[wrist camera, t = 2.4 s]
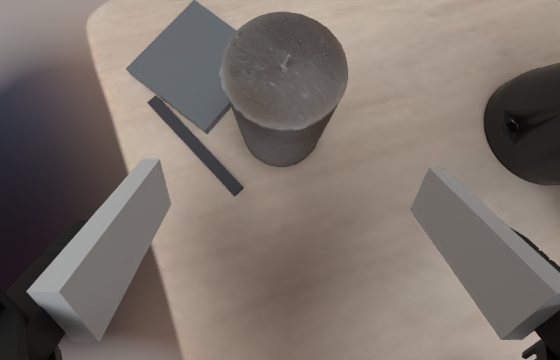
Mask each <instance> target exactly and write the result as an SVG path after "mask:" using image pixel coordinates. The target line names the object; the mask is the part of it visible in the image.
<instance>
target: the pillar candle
mask: <svg viewBox="0 0 560 360" xmlns="http://www.w3.org/2000/svg"><path fill="white" fill-rule="evenodd" d="M219 76H220V78H221V86H222V89H223V91H225V92H226V96H227V97H228V100H229V102H230V104H231V107H232V110H233V112H234V115H235V118H236V120H237V123H238V126H239V128H240V131H241V133H242V136H243V138H244V141H245V143H246V145H247V147H248V149H249V150H250V152H251V153H252V154H253V155H254V156H255V157H256V158H257V159H259V160H261V161H262V162H264V163H266V164H269V165H272V166H277V167H285V166H290V165H294V164H297V163H299V162H300V161H302V160H303V159H305V158H306V157H307V156H308V155H309V154H310V153H311V152H312V151H313V150H314V148H315V147H316V144H317V142H318V140H319V138H320V136H321V135H322V133H323V131H324V129H325V127H326V125H327V123H328V122H329V120H330V118H331V116H332V114H333V112H334V111H335V109H336V107H337V105H338V103H339V101H340V100H341V98H342V96H343V94H344V92H345V89H346V85H347V80H348V67H347V61H346V57H345V53H344V51H343V48H342V45H341V44H340V43H339V41H338V40H337V38H336V37H335V36H334V35H333V34H332V33H331V31H330V30H329V29H327V27H325V26H323V25H322V24H321V23H319V22H318V21H315V20H314V19H311V18H309V17H307V16H304V15H302V14H296V13H290V12H275V13H268V14H265V15H261V16H259V17H256V18H254V19H253V20H251V21H249V22H247V23H246V24H245V25H243V26H242V27H241V28H239V29H238V31H237V32H236V33H235V34H234V35H233V37H232V38H231V39H230V41H229V43H228V45H227V47H226V48H225V51H224V53H223V58H222V64H221V68H220V71H219Z"/></svg>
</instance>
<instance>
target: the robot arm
mask: <svg viewBox="0 0 560 360" xmlns="http://www.w3.org/2000/svg"><path fill="white" fill-rule="evenodd" d="M485 128H486V134H487V137H488V140H489V143H490V145H491V147H492V149H493V151H494V153H495V154H496V156H497V157H498V158H499V160H500V161H501V162H502V163H503V164H504V165H505V166H506V167H507V168H508V169H509V170H510V171H512V172H513V173H515V174H516V175H518V176H519V177H521V178H523V179H525V180H528V181H530V182H533V183H537V184H543V185H558V184H560V63H556V64H553V65H549V66H546V67H542V68H538V69H534V70H530V71H528V72H525V73H523V74H521V75H519V76H517V77H516V78H514V79H512V80H510V81H509V82H507V83H505V84H504V85H502V86H501V87H500V88H499V89H498V90H497V91H496V92H495V93H494V94H493V96H492V97H491V99H490V101H489V103H488V106H487V109H486V114H485ZM170 205H171V202H170V198H169V194H168V190H167V186H166V182H165V178H164V174H163V170H162V166H161V163H160V159H142V160H141V161H140V162H139V164H138V165H137V166H136V167H135V168H134V169H133V170H132V172H131V173H130V174H129V175H128V176H127V177H126V178H125V180H124V181H123V182H122V183H121V184H120V185H119V186H118V188H117V189H116V190H115V191H114V192H113V193H112V194H111V196H110V197H109V198H108V199H107V200H106V201H105V202H104V204H103V205H102V206H101V207H100V208H99V209H98V210H97V211H96V213H95V214H94V215H93V216H92V217H91V218H90V220H89V221H87V220H83V221H82V220H79V221H78V222H76V223H75V224H73V225H72V226H70V227H69V228H67V229H66V230H64V231H63V232H62V234H60V235H59V237H58V238H57V239H56V240H55V241H54V242H53V245H50V246H49V247H48V248H47V249H46V250H45V251H44V253H43V255H40V257H39V258H38V259H37V260H36V261H35V262H34V263H33V264H32V265H31V266H30V267H29V268H28V269H27V270H26V271H25V272H24V273H23V274H22V275H21V277H20V278H19V279H18V280H17V281H16V282H15V283H14V284H13V285H12V286H11V287H10V288H9V289H8V290H7V291H6V293H4V292H3V291H2V290H1V289H0V360H62V354H61V350H60V349H59V347H58V344H59V342H60V340H61V339H62V337H63V336H64V334H66V335H67V336H68V337H69V338H70V339H71V340H72V341H73V342H99V341H100V339H101V338H102V336H103V334H104V332H105V330H106V328H107V326H108V324H109V322H110V320H111V318H112V316H113V314H114V313H115V311H116V308H117V307H118V305H119V303H120V301H121V299H122V297H123V295H124V293H125V291H126V290H127V288H128V286H129V284H130V282H131V280H132V278H133V276H134V274H135V272H136V271H137V269H138V267H139V265H140V263H141V261H142V259H143V257H144V255H145V253H146V251H147V249H148V248H149V246H150V244H151V242H152V240H153V238H154V236H155V234H156V232H157V230H158V228H159V227H160V225H161V223H162V221H163V219H164V217H165V215H166V213H167V211H168V209H169V207H170ZM410 210H411V212H412V213H413V215H414V216H415V217H416V219H417V220H418V222H419V223H420V225H421V226H422V227H423V229H424V230H425V232H426V233H427V235H428V236H429V237H430V239H431V240H432V242H433V243H434V245H435V246H436V247H437V249H438V250H439V252H440V253H441V255H442V256H443V257H444V259H445V260H446V262H447V263H448V265H449V266H450V267H451V269H452V270H453V272H454V273H455V275H456V276H457V277H458V279H459V280H460V282H461V283H462V285H463V286H464V287H465V289H466V290H467V292H468V293H469V295H470V296H471V297H472V299H473V300H474V302H475V303H476V305H477V306H478V308H479V309H480V310H481V312H482V313H483V315H484V316H485V318H486V319H487V320H488V322H489V323H490V325H491V326H492V328H493V329H494V330H495V332H496V333H497V335H498V336H499V338H500V339H501V340H522V339H524V338H525V337H526V336H528V335H529V334H530V333H532V332H533V331H535V332H536V333H537V334H538V335H539V337H540V338H541V340H539V341H538V342H536V343H535V344H534V345H532V346H531V347H529V348H528V349H527V350H525V351H524V352H523V354H522V357H523V358H524V359H527V358H529V357H530V356H532V355H533V354H536V357H537V359H535V360H560V267H559V266H558V265H557V264H556V263H555V262H553V261H552V260H549V257H548V256H547V255H546V254H544V253H543V252H542V251H539V248H538V247H537V246H535V245H534V244H533V243H532V242H531V241H530V240H529V239H527V238H526V237H525V236H523V235H522V234H520V233H518V232H517V231H515V230H514V229H512V228H510V227H509V226H507V225H506V224H505V223H504V222H503V221H502V220H501V219H500V218H499V217H498V216H496V215H495V214H494V213H493V212H492V211H491V210H490V209H489V208H488V207H486V206H485V205H484V204H483V203H482V202H481V201H480V200H479V199H478V198H477V197H475V196H474V195H473V194H472V193H471V192H470V191H469V190H468V189H467V188H466V187H464V186H463V185H462V184H461V183H460V182H459V181H458V180H457V179H456V178H455V177H453V176H452V175H451V174H450V173H449V172H448V171H447V170H446V169H445V168H429V170H428V172H427V174H426V176H425V178H424V181H423V183H422V185H421V187H420V189H419V191H418V194H417V196H416V198H415V200H414V202H413V204H412V207H411V209H410Z"/></svg>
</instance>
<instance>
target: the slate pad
mask: <svg viewBox="0 0 560 360" xmlns="http://www.w3.org/2000/svg"><path fill="white" fill-rule="evenodd" d="M236 32H237V31H236V30H235V29H233V28H232V27H231V26H229V25H228V24H227V23H225V22H224V21H222V20H221V19H220V18H218V17H217V16H216V15H214V14H213V13H212V12H210V11H209V10H207V9H206V8H205V7H203V6H202V5H201V4H199V3H198V2H197V1H195V0H193V1H192V2H191V3H190V4H189V6H188V7H187V8H186V9H185V10H184V11H183V12H182V13H181V14H180V15H179V16H178V17H177V18H176V19H175V20H174V21H173V22H172V23H171V24H170V25H169V26H168V27H167V28H166V29H165V30H164V31H163V32H162V33H161V34H160V35H159V36H158V37H157V38H156V39H155V40H154V41H153V42H152V43H151V44H150V45H149V46H148V47H147V48H146V49H145V50H144V51H143V52H142V53H141V54H140V55H139V56H138V57H137V58H136V59H135V60H134V61H133V62H132V63H131V64H130V65H129V66H128V67H127V68H126V70H127V71H128V72H129V73H130V74H131V75H133V76H134V77H135V78H136V79H138V80H139V81H140V82H141V83H143V84H144V85H145V86H147V87H148V88H149V89H150V90H152V91H153V92H154V93H156V94H157V95H158V96H159V97H161V98H162V99H163V100H165V101H166V102H167V103H168V104H170V105H171V106H172V107H173V108H175V109H176V110H177V111H179V112H180V113H181V114H182V115H184V116H185V117H186V118H188V119H189V120H190V121H191V122H193V123H194V124H195V125H197V126H198V127H199V128H200V129H202V130H203V131H204V132H206V133H207V134H208V133H209V131H210V130H211V129H212V128H213V127H214V126H215V125H216V123H217V122H218V121H219V120H220V119H221V118H222V117H223V115H224V114H225V113H226V112H227V111H228V110H229V109H230V107H231V104H230V102H229V100H228V97H227V96H226V92H225V91H223V89H222V86H221V78H220V76H219V71H220V68H221V64H222V58H223V53H224V51H225V48H226V47H227V45H228V43H229V41H230V39H231V38H232V37H233V35H234V34H235V33H236Z"/></svg>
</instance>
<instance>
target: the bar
mask: <svg viewBox="0 0 560 360" xmlns="http://www.w3.org/2000/svg"><path fill="white" fill-rule="evenodd" d="M147 103H148V104H149V105H150V106H151V107H152V108H153V109H154V110H155V111H156V112H157V113H158V114H159V115H160V117H161V118H162V119H163V120H164V121H165V122H166V123H167V124H168V125H169V126H170V127H171V128H172V129H173V130H174V132H175V133H176V134H177V135H178V136H179V137H180V138H181V139H182V140H183V141H184V142H185V143H186V144H187V145H188V147H189V148H190V149H191V150H192V151H193V152H194V153H195V154H196V155H197V156H198V157H199V158H200V159H201V161H202V162H203V163H204V164H205V165H206V166H207V167H208V168H209V169H210V170H211V171H212V172H213V173H214V174H215V176H216V177H217V178H218V179H219V180H220V181H221V182H222V183H223V184H224V185H225V186H226V187H227V188H228V189H229V191H230V192H231V193H232V194H233V195H234V196H236V195H237V194H238V193H239V192H240V191H241V190H242V189H243V187H242V186H241V185H240V184H239V183H238V182H237V181H236V180H235V178H234V177H233V176H232V175H231V174H230V173H229V172H228V171H227V170H226V169H225V168H224V167H223V166H222V165H221V164H220V163H219V161H218V160H217V159H216V158H215V157H214V156H213V155H212V154H211V153H210V152H209V151H208V150H207V149H206V148H205V147H204V146H203V144H202V143H201V142H200V141H199V140H198V139H197V138H196V137H195V136H194V135H193V134H192V133H191V132H190V131H189V130H188V129H187V127H186V126H185V125H184V124H183V123H182V122H181V121H180V120H179V119H178V118H177V117H176V116H175V115H174V114H173V113H172V112H171V110H170V109H169V108H168V107H167V106H166V105H165V104H164V103H163V102H162V101H161V100H160V99H159V98H158V97H157V96H155V97H153V98H152V99H151V100H150V101H149V102H147Z"/></svg>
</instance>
